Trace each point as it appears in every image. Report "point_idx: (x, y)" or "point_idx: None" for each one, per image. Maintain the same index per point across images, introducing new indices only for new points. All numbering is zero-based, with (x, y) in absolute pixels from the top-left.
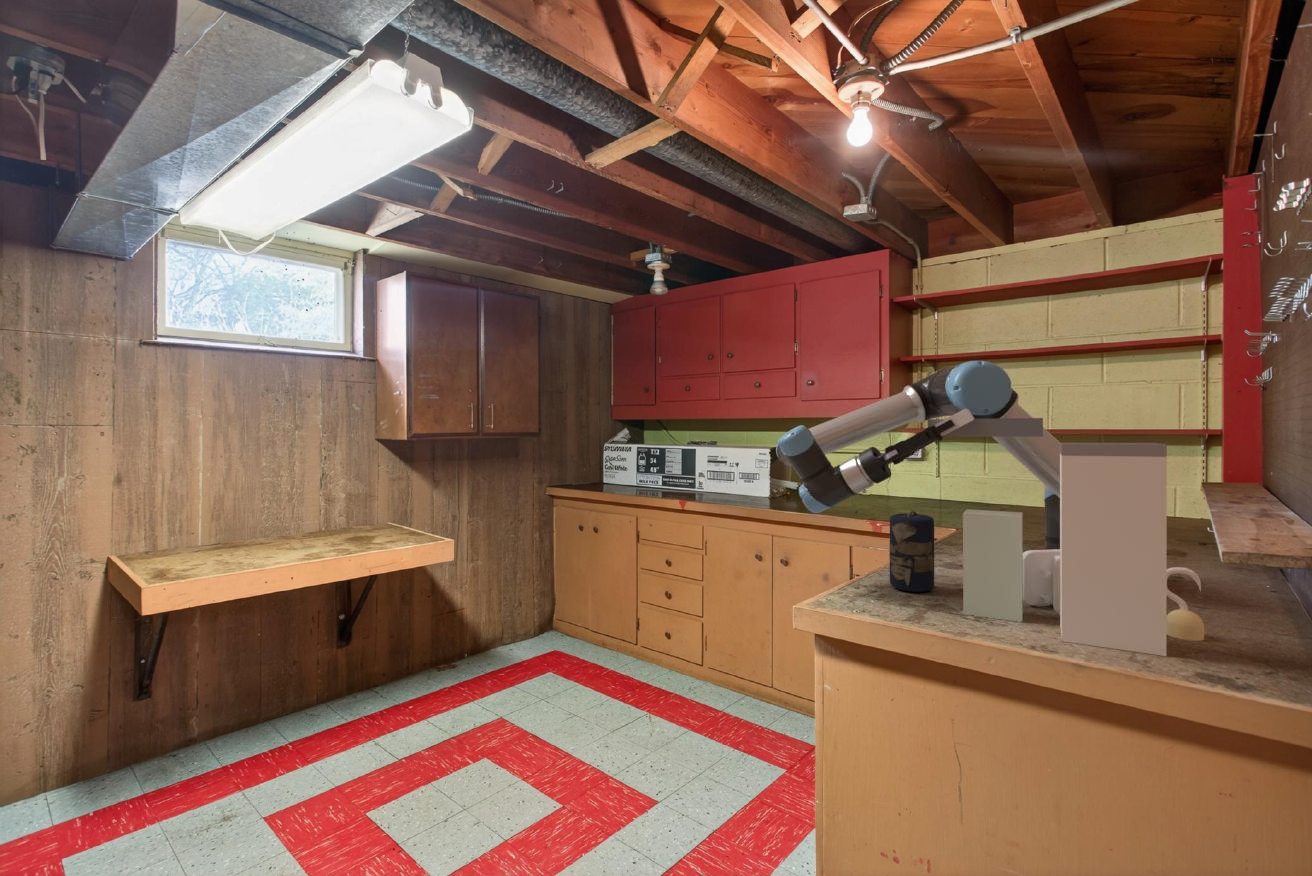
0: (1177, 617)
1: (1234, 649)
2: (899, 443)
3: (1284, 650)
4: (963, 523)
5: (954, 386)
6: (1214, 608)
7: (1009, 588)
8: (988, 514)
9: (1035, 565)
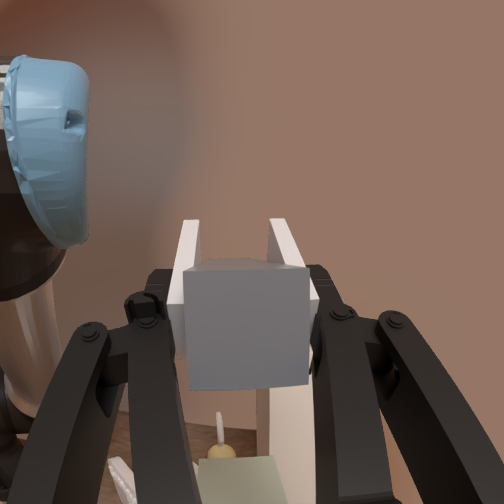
0: (231, 453)
1: (244, 447)
2: (501, 461)
3: (226, 431)
4: None
5: (68, 112)
6: (112, 436)
7: None
8: (275, 492)
9: None
